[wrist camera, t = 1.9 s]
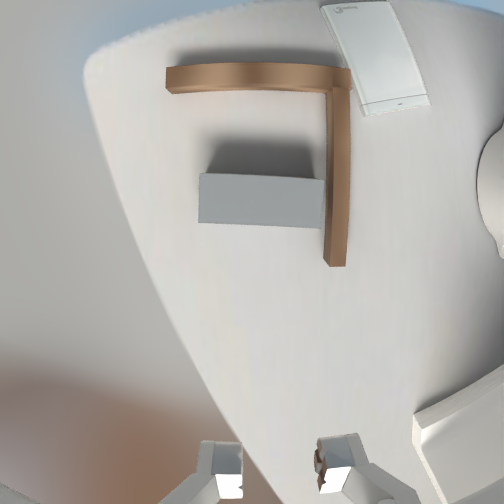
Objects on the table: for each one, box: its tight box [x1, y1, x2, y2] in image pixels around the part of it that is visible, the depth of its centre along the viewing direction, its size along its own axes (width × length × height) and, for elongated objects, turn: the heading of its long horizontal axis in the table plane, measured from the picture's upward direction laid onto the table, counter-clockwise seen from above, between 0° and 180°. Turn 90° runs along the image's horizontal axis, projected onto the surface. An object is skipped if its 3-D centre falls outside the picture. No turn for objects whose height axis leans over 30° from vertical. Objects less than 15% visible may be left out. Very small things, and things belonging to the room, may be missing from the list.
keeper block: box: [198, 173, 324, 229], centre depth 27 cm, size 10×4×4 cm, turn 87°
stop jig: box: [166, 62, 352, 267], centre depth 26 cm, size 16×18×2 cm
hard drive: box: [320, 1, 431, 118], centre depth 24 cm, size 2×8×12 cm
